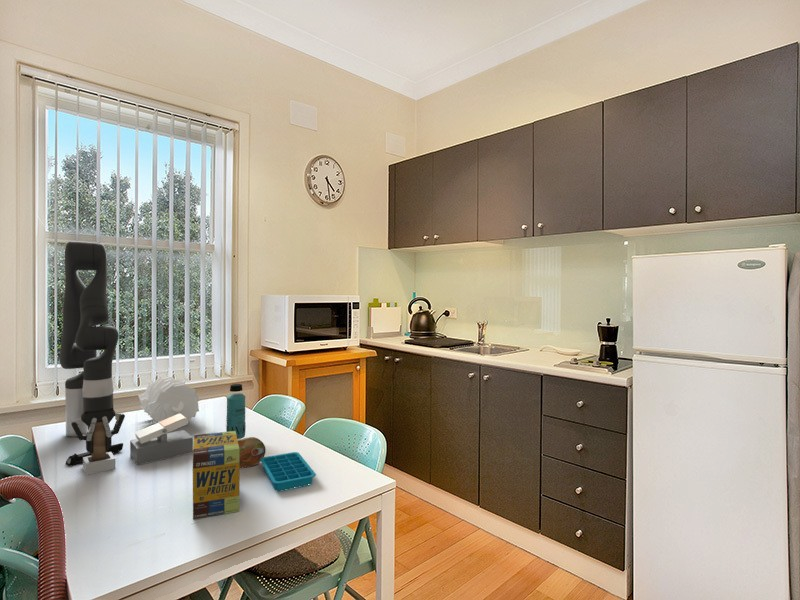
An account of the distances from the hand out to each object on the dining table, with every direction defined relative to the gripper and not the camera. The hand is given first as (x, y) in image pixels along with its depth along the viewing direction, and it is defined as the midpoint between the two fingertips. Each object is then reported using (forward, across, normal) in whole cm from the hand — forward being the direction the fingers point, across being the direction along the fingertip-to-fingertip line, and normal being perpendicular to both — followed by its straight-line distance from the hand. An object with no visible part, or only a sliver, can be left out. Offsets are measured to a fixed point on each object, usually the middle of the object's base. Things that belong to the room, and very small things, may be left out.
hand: (98, 450), depth 133 cm
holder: (+5, 0, 0) cm, 5 cm away
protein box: (+5, -19, +44) cm, 48 cm away
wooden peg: (+5, 0, 0) cm, 5 cm away
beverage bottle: (+5, -40, +3) cm, 40 cm away
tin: (+5, -32, +26) cm, 42 cm away
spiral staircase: (+5, -28, -35) cm, 45 cm away
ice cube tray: (+6, -40, +41) cm, 58 cm away
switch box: (+5, -17, 0) cm, 18 cm away
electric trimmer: (+6, 0, -10) cm, 12 cm away
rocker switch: (-3, -17, 0) cm, 17 cm away
